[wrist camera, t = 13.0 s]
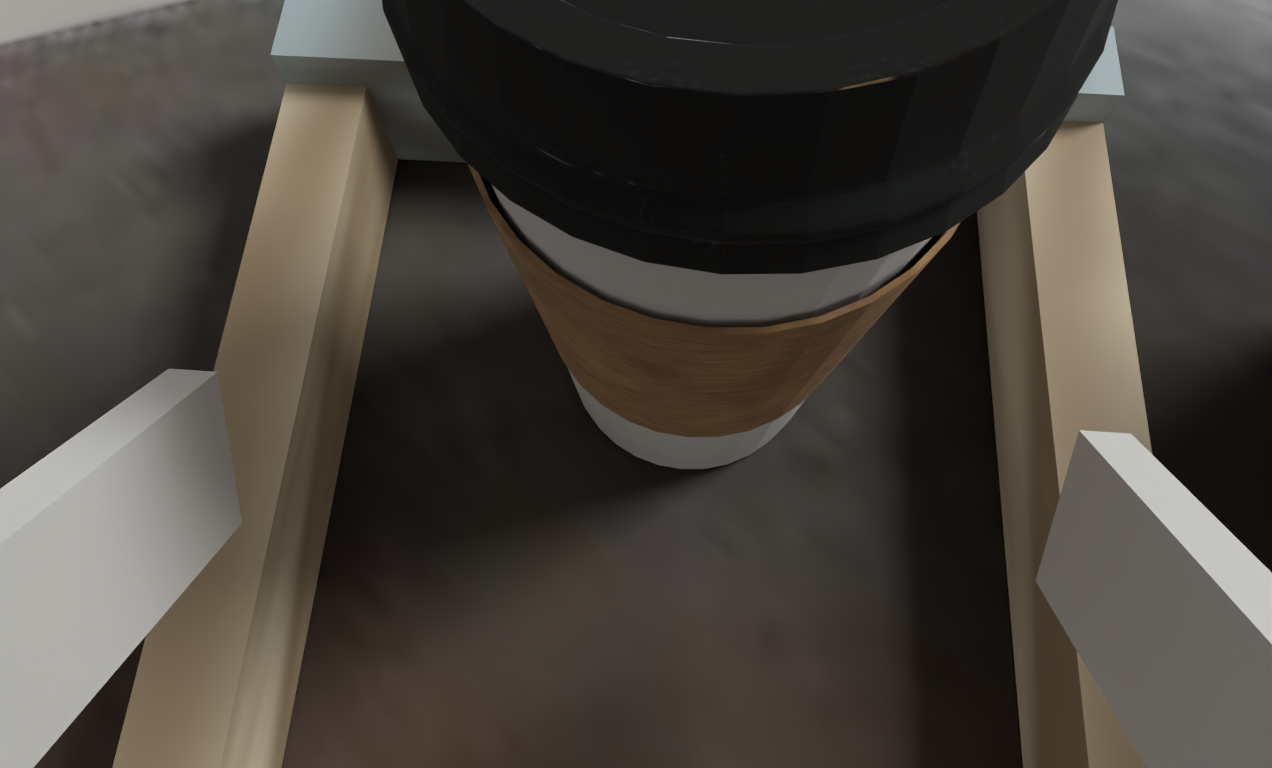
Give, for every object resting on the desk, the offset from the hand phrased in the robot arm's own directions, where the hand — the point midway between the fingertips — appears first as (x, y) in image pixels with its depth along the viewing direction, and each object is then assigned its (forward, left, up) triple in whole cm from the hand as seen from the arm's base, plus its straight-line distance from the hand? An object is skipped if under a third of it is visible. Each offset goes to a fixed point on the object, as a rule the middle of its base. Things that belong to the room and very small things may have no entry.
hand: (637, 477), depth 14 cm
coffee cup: (-1, -5, -8) cm, 9 cm away
